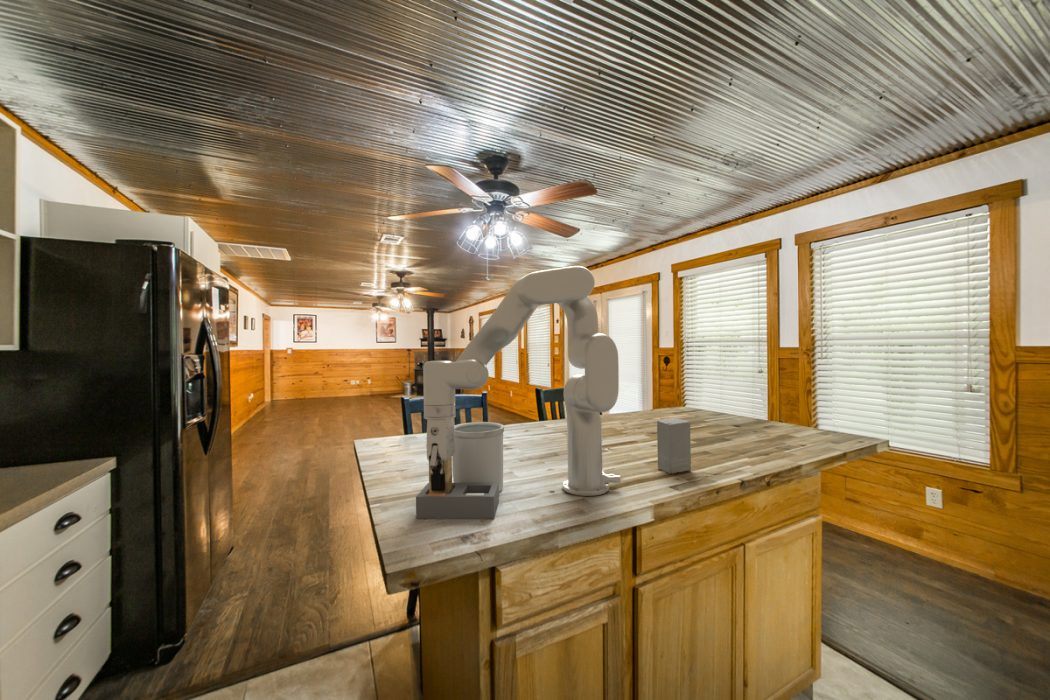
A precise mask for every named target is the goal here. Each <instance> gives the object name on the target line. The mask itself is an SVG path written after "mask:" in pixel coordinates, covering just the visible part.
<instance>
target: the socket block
mask: <svg viewBox="0 0 1050 700" xmlns="http://www.w3.org/2000/svg"><path fill="white" fill-rule="evenodd" d="M499 493H500V492H499V484H498V483H454V482H452V492H451V493H450V494H446V493H429V482H428V483H427V484H426V485H425V486H424V487H423V488H422V490H420V492H419V493H418V494H417V495H416V496H415V519H416V520H418V519H419V520H423V519H424V520H429V519H431V520H433V519H434V520H438V519H439V520H442V519H443V520H447V519H448V520H450V519H452V520H453V519H454V520H460V519H461V520H462V519H464V520H469V519H470V520H471V519H472V520H473V519H476V520H478V519H479V520H480V519H481V520H482V519H484V520H488V519H490V520H493V519H495V518H496V514H497V510H498V507H499V502H500V500H499V499H500V498H499Z"/></svg>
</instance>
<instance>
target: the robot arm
mask: <svg viewBox="0 0 1050 700" xmlns="http://www.w3.org/2000/svg"><path fill="white" fill-rule="evenodd" d="M595 285H596V283H595V277H594V275H593V273H592V272H591V270H589V268H587V267H584V266H582V265H581V266H580V265H573V266H572V265H571V266H566V267H560V268H552V269H544V270H538V271H532V272H530V273H528V274H526V275H524V276H523V277H520V278H519V279H518V280H516V281H515V283H514V284H513V285H512V286H511V287H510V289H509V290H508V292H507V293H506V295H505V296H504V297H503V299H502V300H501V301H500V303H499V304H498V306H496V308H495V310H494V311H493V313H492V314H491V315H490V316H489V318H488V319H487V320H486V322H485V323H484V324H483V325H482V327H481V328H480V329H479V330H478V332H477V333H476V335H475V336H474V337H473V338H472V339H471V340H470V341H469V343H468V344H467V345H466V347H465V348H464V349H463V351H462V352H461V353H460V355H459V356H458V358H457V359H456V361H452V360H430V361H429V360H428V361H426V362H425V363H424V364H423V369H422V371H423V372H422V373H423V378H422V381H423V419H425V420H426V421H427V422H426V423H427V424H426V460H427V461H428V462H429V461H430V467H431V490H432V491H444V490H445V473H444V460H445V461H448V460H449V459H450V458H451V457H452V456H453V455H454V453H455V431H454V426H455V422H454V418H456V417H457V415H456V414H457V413H456V412H457V411H456V390H468V391H469V390H471V391H475V390H478V389H481V388H482V387H484V386H485V385H486V383H487V382H488V380H489V375H490V374H489V370H488V367H487V365H488V364H489V363H490V361H491V360H492V359H493V358H494V357H495V355H497V353H498V352H500V351H501V350H503V349H504V348H505V347H507V346H508V345H510V344H511V343H512V342H513V341H514V340H515V339H516V338H517V337H518V336H519V334H520V332H521V331H522V329H523V328H524V327H525V325H526V324H527V322H528V321H529V320H530V318H531V317H532V315H533V313H534V312H535V311H536V309H537V308H539V307H541V306H544V305H545V306H546V305H553V304H557V305H558V306H559V307H560V308H561V309H562V311H563V312H564V315H565V318H566V324H567V359H568V361H569V364H571V366H573V367H574V368H576V369H580V370H584V373H579V374H574V375H572V376H570V377H569V378H568V379H567V381H566V382H565V384H564V386H563V387H564V388H563V401H564V407H565V413H566V415H565V416H566V432H567V433H566V437H567V438H566V441H567V443H566V444H567V480H564V481H563V482H562V484H561V485H562V490H564V492H567V493H568V494H570V495H571V494H572V495H575V496H584V497H586V496H587V497H589V496H590V497H593V496H599V495H604V494H605V493H607V492H608V491H609V488H610V486H609V485H610V483H611V484H620V483H621V475H615V474H614V473H609V474H608V473H607V474H606V473H605V472H604V469H603V434H602V433H603V425H602V418H601V414H600V413H606V412H609V411H610V410H612V409H613V408H614V406H615V404H616V403H617V401H618V399H619V398H618V397H619V390H620V389H619V388H620V387H619V383H620V381H619V377H620V376H619V375H620V374H619V373H620V370H619V352H618V351H619V350H618V347H617V345H616V343H615V341H614V340H613V339H612V338H611V337H610V336H609V335H607V334H604V333H600V331H599V317H598V312H597V309H596V306H595V304H594V302H593V301H592V300H591V298H590V295H591V293H592V292H593V291H594V288H595ZM438 458H441V460H437V459H438ZM438 463H441V466H440V465H438Z"/></svg>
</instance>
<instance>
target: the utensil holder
mask: <svg viewBox="0 0 1050 700" xmlns="http://www.w3.org/2000/svg"><path fill="white" fill-rule="evenodd" d="M454 431H455V453H454V455H453V456H452V483H498V484H499V493H500V492H501V491H502V490H503V489H504V431H505V426H504V424H502V423H498V422H492V421H475V422H472V421H471V422H465V423H458V424H454Z"/></svg>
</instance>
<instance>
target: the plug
mask: <svg viewBox="0 0 1050 700" xmlns="http://www.w3.org/2000/svg"><path fill="white" fill-rule="evenodd" d="M437 460H441V458H438V459H437ZM438 465H440V466H441V463H438ZM444 473H445V490H444V491H432V490H431V467H430V461H428V483H429V493H446V494H450V493H451V492H452V483H453V463H452V457H451V458H450V459H449V460H448V461H445V460H444Z"/></svg>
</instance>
